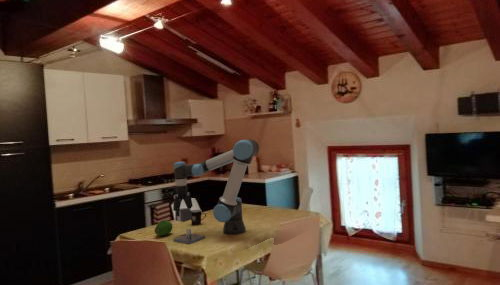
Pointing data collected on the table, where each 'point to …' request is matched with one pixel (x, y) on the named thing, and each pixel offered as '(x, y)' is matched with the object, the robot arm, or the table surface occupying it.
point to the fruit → (163, 228)
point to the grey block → (184, 214)
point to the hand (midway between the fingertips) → (184, 219)
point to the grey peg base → (189, 238)
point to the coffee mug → (196, 217)
